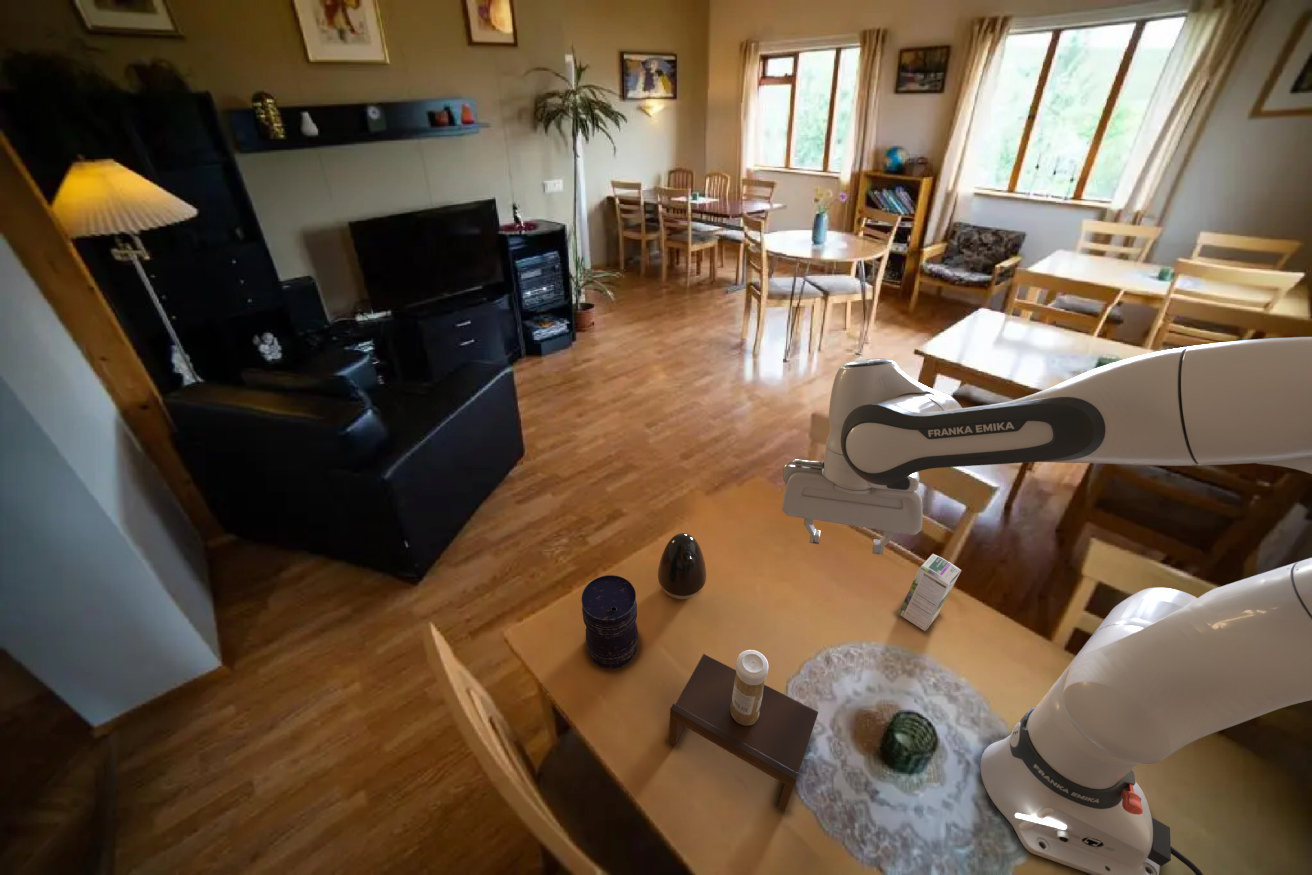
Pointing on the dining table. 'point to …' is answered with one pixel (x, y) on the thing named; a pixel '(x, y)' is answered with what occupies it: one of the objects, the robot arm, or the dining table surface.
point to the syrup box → (929, 591)
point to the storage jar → (610, 621)
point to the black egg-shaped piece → (682, 567)
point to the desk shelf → (762, 744)
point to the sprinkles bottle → (748, 686)
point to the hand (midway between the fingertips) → (845, 547)
